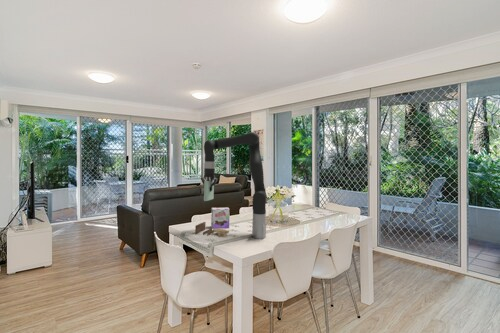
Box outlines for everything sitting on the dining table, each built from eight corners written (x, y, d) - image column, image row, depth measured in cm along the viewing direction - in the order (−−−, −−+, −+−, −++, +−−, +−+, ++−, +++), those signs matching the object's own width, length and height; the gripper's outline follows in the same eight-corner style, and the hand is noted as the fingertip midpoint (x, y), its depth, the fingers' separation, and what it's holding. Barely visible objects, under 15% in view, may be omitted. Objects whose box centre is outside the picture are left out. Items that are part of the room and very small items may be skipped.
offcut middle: (223, 232, 206) (223, 230, 206) (226, 236, 196) (226, 234, 196) (216, 233, 204) (216, 230, 204) (219, 237, 195) (219, 234, 195)
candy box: (211, 230, 215) (211, 208, 215) (210, 228, 221) (211, 207, 220) (229, 229, 218) (229, 208, 217) (228, 227, 224) (228, 207, 223)
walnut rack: (216, 232, 209) (216, 223, 208) (207, 237, 197) (208, 227, 197) (203, 231, 212) (204, 221, 212) (195, 235, 201) (195, 225, 200)
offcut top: (218, 230, 205) (218, 228, 205) (228, 233, 199) (229, 230, 199) (213, 231, 201) (213, 229, 201) (224, 234, 195) (224, 231, 195)
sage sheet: (213, 198, 211) (213, 180, 210) (206, 201, 201) (206, 181, 200) (211, 198, 212) (211, 180, 211) (203, 200, 201) (204, 181, 201)
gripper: (220, 168, 206) (219, 191, 207) (203, 167, 211) (203, 190, 212) (215, 168, 199) (215, 192, 200) (198, 167, 204) (198, 191, 205)
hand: (209, 191), depth 206 cm, fingers closed on sage sheet, 2 cm apart
